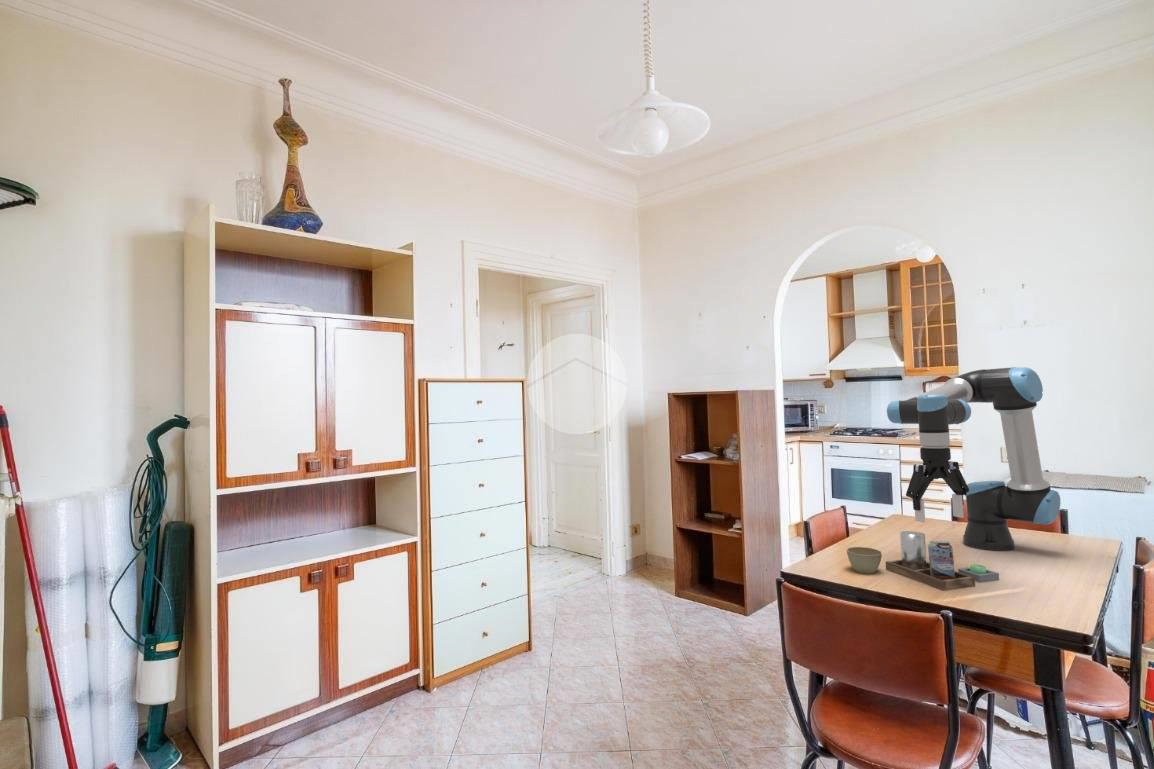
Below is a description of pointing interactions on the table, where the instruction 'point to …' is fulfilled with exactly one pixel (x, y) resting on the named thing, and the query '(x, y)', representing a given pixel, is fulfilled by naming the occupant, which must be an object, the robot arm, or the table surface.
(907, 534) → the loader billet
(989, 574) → the gray soap dish
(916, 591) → the table surface
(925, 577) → the brown compartment tray
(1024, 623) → the table surface
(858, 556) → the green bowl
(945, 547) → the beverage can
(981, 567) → the button
